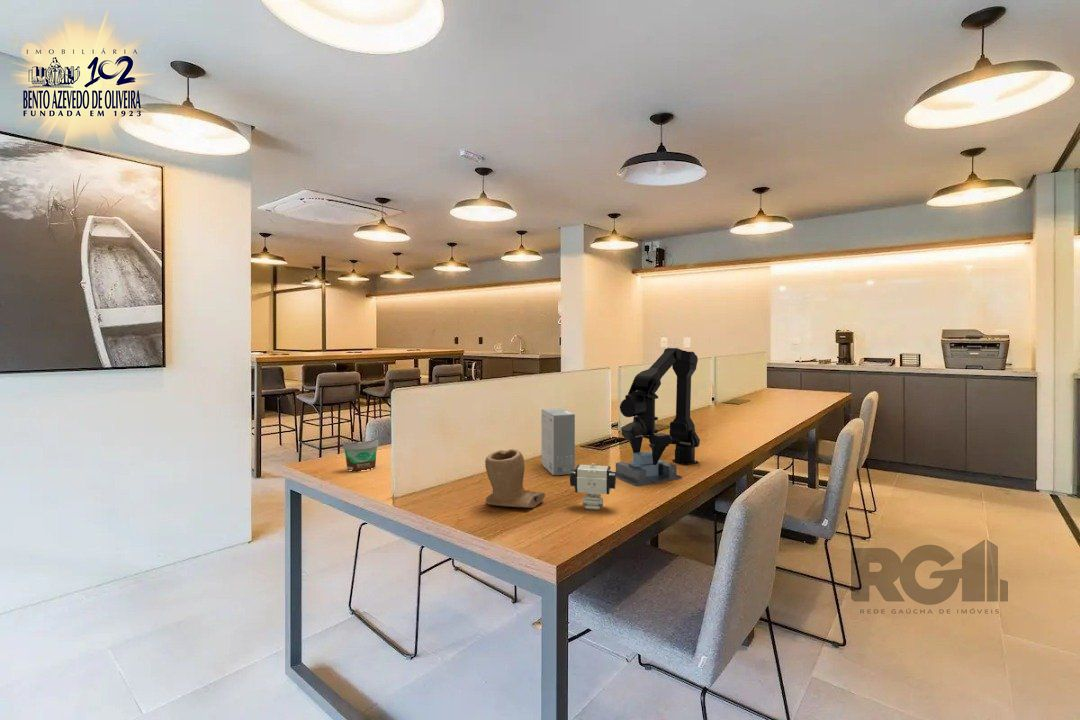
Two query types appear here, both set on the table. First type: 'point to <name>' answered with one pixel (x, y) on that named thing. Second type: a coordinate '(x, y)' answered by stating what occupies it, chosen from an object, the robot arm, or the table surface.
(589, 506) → the pneumatic valve
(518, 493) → the brown hollow cup shape
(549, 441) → the hard drive box
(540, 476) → the table surface
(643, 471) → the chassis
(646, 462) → the block
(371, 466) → the food container
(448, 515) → the table surface
